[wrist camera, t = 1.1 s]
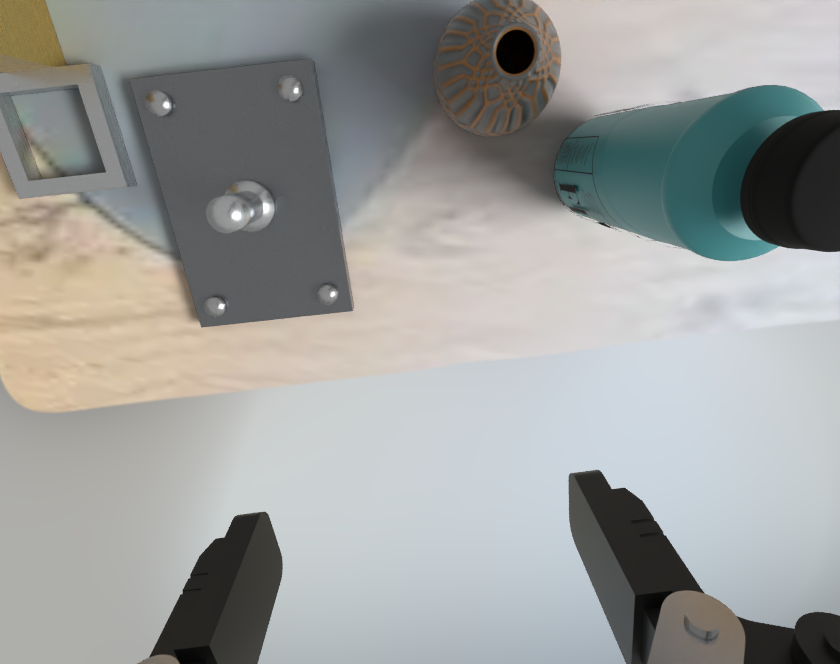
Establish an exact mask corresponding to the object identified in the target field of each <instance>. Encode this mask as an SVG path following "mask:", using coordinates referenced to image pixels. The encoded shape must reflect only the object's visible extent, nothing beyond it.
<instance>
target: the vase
mask: <svg viewBox="0 0 840 664" xmlns="http://www.w3.org/2000/svg"><path fill="white" fill-rule="evenodd" d="M560 67H561V49H560V42H559V38H558V35H557V32H556V29H555V27H554V25H553V23H552V21H551V20H550V18H549V17H548V15H547V14H546V13H545V12H544V10H543V9H542V8H541V7H539V6H538V5H537V4H536V3H534V2H533V1H531V0H474V1H472V2H470V3H469V4H467V5H466V6H465V7H463V8H462V9H461V10H460V11H459V12H458V13H457V14H456V15H455V16H454V17H453V18H452V20H451V21H450V22H449V24H448V25H447V27H446V29H445V30H444V32H443V34H442V36H441V38H440V41H439V43H438V46H437V50H436V54H435V60H434V83H435V88H436V92H437V96H438V98H439V101H440V103H441V105H442V107H443V109H444V110H445V112H446V113H447V115H448V116H449V117H450V118H451V119H452V120H453V121H454V122H455V123H456V124H457V125H458V126H460V127H461V128H463V129H465V130H466V131H468V132H471V133H473V134H476V135H481V136H502V135H507V134H510V133H513V132H515V131H517V130H519V129H521V128H523V127H525V126H526V125H528V124H529V123H530V122H532V121H533V120H534V119H535V118H536V117H537V116H538V115H539V114H540V113H541V112H542V110H543V109H544V108H545V106H546V105H547V104H548V102H549V100H550V98H551V96H552V94H553V92H554V90H555V88H556V85H557V82H558V78H559V73H560Z"/></svg>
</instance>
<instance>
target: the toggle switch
mask: <svg viewBox="0 0 840 664" xmlns="http://www.w3.org/2000/svg"><path fill="white" fill-rule="evenodd" d="M129 81H130V84H131V88H132V91H133V94H134V98H135V101H136V105H137V108H138V112H139V115H140V118H141V122H142V125H143V129H144V132H145V136H146V139H147V142H148V146H149V149H150V153H151V156H152V160H153V163H154V166H155V170H156V173H157V177H158V180H159V184H160V187H161V190H162V194H163V197H164V201H165V204H166V208H167V211H168V214H169V218H170V221H171V225H172V228H173V231H174V235H175V238H176V242H177V245H178V249H179V252H180V255H181V259H182V262H183V266H184V269H185V273H186V276H187V279H188V283H189V286H190V290H191V293H192V297H193V300H194V303H195V307H196V310H197V314H198V317H199V321H200V324H201V327H210V326H219V325H228V324H237V323H246V322H256V321H265V320H274V319H283V318H292V317H301V316H311V315H320V314H329V313H338V312H347V311H353V308H354V304H353V297H352V291H351V285H350V279H349V273H348V267H347V261H346V254H345V248H344V242H343V236H342V230H341V224H340V218H339V211H338V205H337V199H336V193H335V187H334V181H333V174H332V168H331V162H330V156H329V150H328V144H327V138H326V131H325V125H324V119H323V113H322V107H321V101H320V95H319V88H318V82H317V76H316V70H315V64H314V61H313V60H312V59H303V60H294V61H285V62H277V63H268V64H259V65H250V66H241V67H232V68H223V69H214V70H205V71H197V72H188V73H179V74H170V75H161V76H152V77H143V78H134V79H129Z"/></svg>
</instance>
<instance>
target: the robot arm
mask: <svg viewBox="0 0 840 664" xmlns="http://www.w3.org/2000/svg"><path fill="white" fill-rule="evenodd" d="M569 518H570V519H569V520H570V527H571V532H572V536H573V539H574V542H575V545H576V547H577V550H578V552H579V554H580V556H581V559H582V561H583V563H584V566H585V568H586V571H587V573H588V575H589V577H590V580H591V582H592V585H593V587H594V589H595V592H596V594H597V596H598V598H599V601H600V603H601V605H602V608H603V610H604V613H605V615H606V617H607V620H608V622H609V624H610V627H611V629H612V631H613V634H614V636H615V638H616V641H617V643H618V645H619V648H620V650H621V652H622V655H623V657H624V659H625V662H626V664H840V616H838V615H834V614H831V613H824V612H814V613H808V614H805V615H803V616H802V617H800V618H799V619H798V621H797V623H796V625H795V629H792V628H786V627H780V626H775V625H769V624H764V623H758V622H753V621H749V620H746V619H743V618H740V617H737V616H736V615H735V614H734V613H733V612H732V611H731V610H730V609H729V608H728V607H727V606H726V605H724V604H723V603H722V602H720V601H719V600H717V599H715V598H713V597H711V596H709V595H707V594H705V593H704V592H703V591H702V589H701V588H700V586H699V585H698V584H697V582H696V580H695V579H694V578H693V576H692V574H691V573H690V571H689V570H688V568H687V567H686V565H685V564H684V562H683V561H682V560H681V558H680V557H679V555H678V554H677V552H676V550H675V549H674V547H673V546H672V544H671V543H670V541H669V540H668V539H667V537H666V536H664V534H663V531H662V530H661V528H660V527H659V525H658V524H657V522H656V521H654V518H653V516H652V515H651V513H650V512H649V510H648V509H647V507H646V506H645V504H644V503H643V501H642V500H640V499H639V498H638V497H636V496H635V495H634V494H632V493H631V492H630V491H628V490H627V489H626V488H619V489H611V487H610V485H609V484H608V482H607V480H606V479H605V477H604V476H603V474H602V472H600V471H599V470H593V471H585V472H578V473H571V474H570V475H569ZM190 576H191V577H190V579H188V581H187V583H186V585H185V587H184V589H183V594H182V595H180V597H179V599H178V601H177V603H176V605H175V607H174V609H173V611H172V613H171V615H170V617H169V619H168V621H167V623H166V625H165V627H164V629H163V631H162V633H161V635H160V637H159V639H158V641H157V643H156V645H155V647H154V649H153V651H152V653H151V655H150V657H149V658H147V659H145V660H143V661H141V662H140V663H138V664H257V663H258V660H259V656H260V653H261V649H262V645H263V642H264V638H265V635H266V631H267V628H268V624H269V621H270V617H271V614H272V610H273V607H274V603H275V599H276V596H277V592H278V589H279V585H280V582H281V577H282V556H281V552H280V549H279V546H278V542H277V540H276V536H275V533H274V530H273V527H272V524H271V521H270V518H269V516H268V514H267V513H266V512H259V513H251V514H243V515H237V516H235V517H234V519H233V520H232V523H231V525H230V527H229V529H228V532H227V534H226V536H225V538H218V539H215V540H214V541H213V542H212V543H211V544H210V545H209V547H208V548H207V549H206V550H205V551H204V552H203V553H202V554H201V555H200V557H199V559H198V561H197V563H196V565H195V567H194V569H193V571H192V573H191V575H190Z"/></svg>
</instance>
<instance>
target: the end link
mask: <svg viewBox="0 0 840 664" xmlns="http://www.w3.org/2000/svg"><path fill="white" fill-rule="evenodd" d="M0 72H2V73H0V152H1V154H2V157H3V159H4V162H5V164H6V167H7V169H8V172H9V174H10V177H11V179H12V182H13V184H14V187H15V189H16V192H17V194H18V197H19V199H23V198H32V197H41V196H50V195H59V194H68V193H77V192H86V191H95V190H104V189H113V188H122V187H131V186H137V184H136V181H135V178H134V174H133V171H132V168H131V165H130V161H129V158H128V155H127V152H126V148H125V145H124V142H123V139H122V136H121V132H120V129H119V126H118V123H117V119H116V116H115V113H114V110H113V106H112V103H111V100H110V97H109V93H108V90H107V87H106V84H105V80H104V77H103V74H102V71H101V68H100V67H99V66H96V65H92V64H89V63H86V64H78V65H69V66H66V63H65V60H64V57H63V54H62V51H61V48H60V45H59V42H58V39H57V36H56V33H55V30H54V27H53V24H52V21H51V18H50V15H49V12H48V9H47V6H46V3H45V0H0ZM75 88H79V91H80V94H81V97H82V100H83V103H84V106H85V109H86V112H87V115H88V118H89V121H90V124H91V127H92V130H93V133H94V136H95V139H96V142H97V146H98V149H99V152H100V155H101V158H102V161H103V164H104V167H105V170H106V172H105V173H96V174H87V175H78V176H69V177H60V178H51V179H41V176H40V173H39V171H38V168H37V165H36V163H35V160H34V158H33V155H32V152H31V150H30V147H29V144H28V142H27V139H26V136H25V134H24V131H23V128H22V126H21V123H20V120H19V118H18V115H17V113H16V110H15V107H14V105H13V102H12V99H11V97H10V96H13V95H21V94H30V93H39V92H48V91H57V90H66V89H75Z"/></svg>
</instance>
